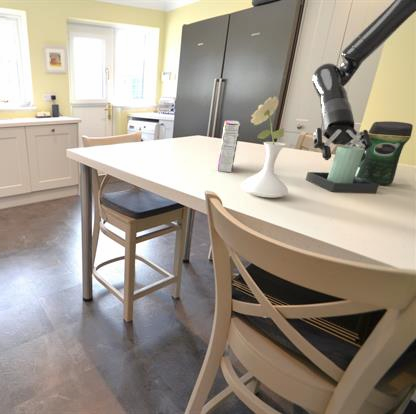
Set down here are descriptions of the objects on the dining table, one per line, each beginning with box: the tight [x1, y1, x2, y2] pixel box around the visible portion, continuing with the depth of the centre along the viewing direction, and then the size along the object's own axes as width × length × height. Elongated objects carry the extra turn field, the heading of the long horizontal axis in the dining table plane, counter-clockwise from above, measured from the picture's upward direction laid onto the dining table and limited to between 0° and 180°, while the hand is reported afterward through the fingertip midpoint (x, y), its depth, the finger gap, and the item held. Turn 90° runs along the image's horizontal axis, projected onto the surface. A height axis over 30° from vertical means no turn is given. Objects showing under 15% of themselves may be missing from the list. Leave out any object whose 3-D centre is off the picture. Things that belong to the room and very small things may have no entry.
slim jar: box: [327, 145, 365, 183], centre depth 84 cm, size 6×6×11 cm
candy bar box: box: [217, 120, 241, 173], centre depth 100 cm, size 11×5×16 cm, turn 159°
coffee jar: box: [355, 120, 414, 186], centre depth 87 cm, size 10×8×19 cm
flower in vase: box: [240, 95, 289, 199], centre depth 73 cm, size 13×11×25 cm
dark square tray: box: [305, 171, 380, 194], centre depth 85 cm, size 12×12×3 cm
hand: (344, 159), depth 84 cm, fingers open, 8 cm apart
